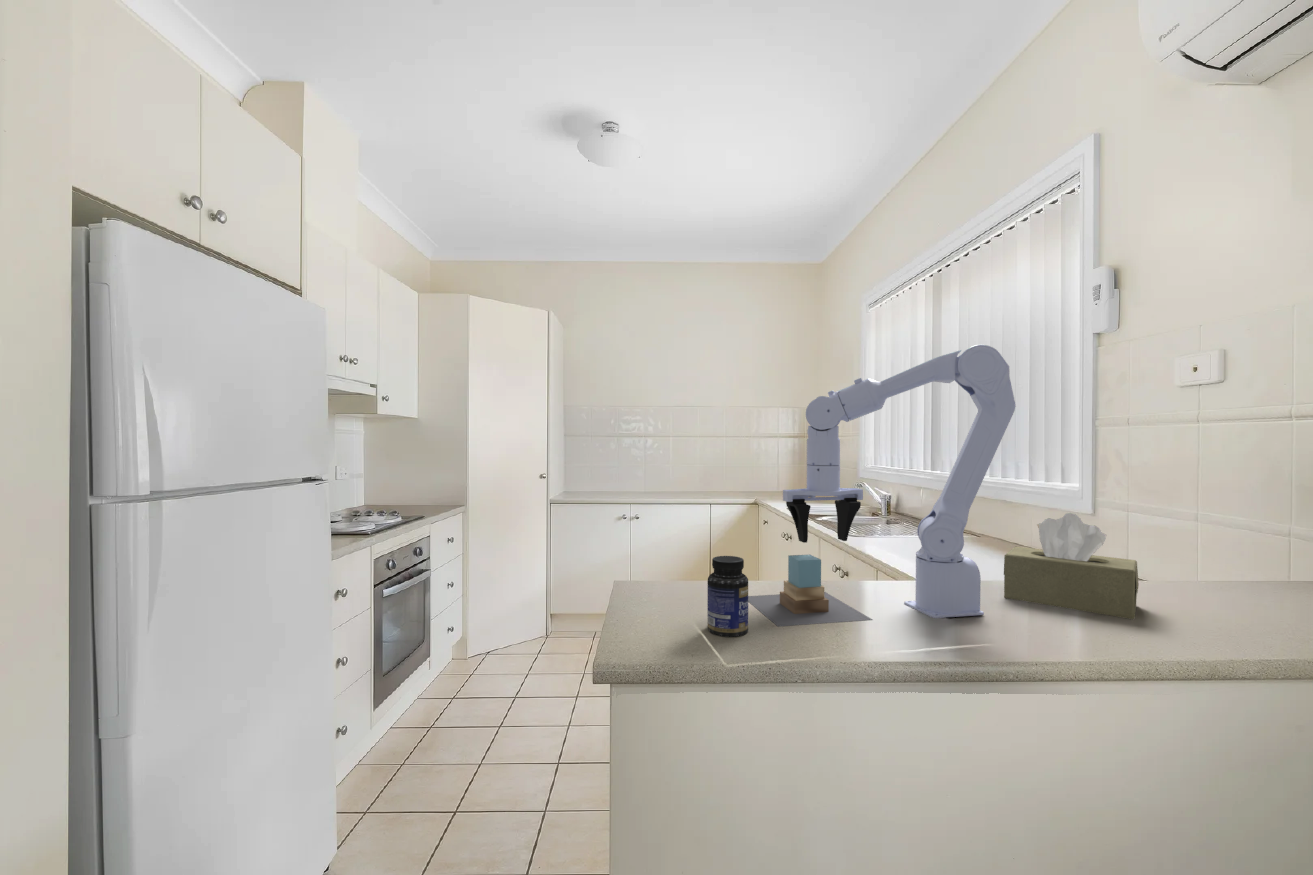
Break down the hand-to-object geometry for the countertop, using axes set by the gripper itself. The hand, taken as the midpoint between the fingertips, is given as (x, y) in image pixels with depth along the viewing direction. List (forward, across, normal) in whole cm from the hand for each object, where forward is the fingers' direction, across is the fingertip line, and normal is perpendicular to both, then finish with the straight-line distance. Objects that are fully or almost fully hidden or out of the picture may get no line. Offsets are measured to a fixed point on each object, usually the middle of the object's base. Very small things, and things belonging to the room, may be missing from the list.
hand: (822, 540), depth 104 cm
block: (+6, +6, +5) cm, 10 cm away
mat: (+10, +6, +5) cm, 13 cm away
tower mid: (+8, +6, +5) cm, 11 cm away
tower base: (+10, +6, +5) cm, 13 cm away
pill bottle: (+11, +22, +13) cm, 28 cm away
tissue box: (+11, -42, +10) cm, 44 cm away
